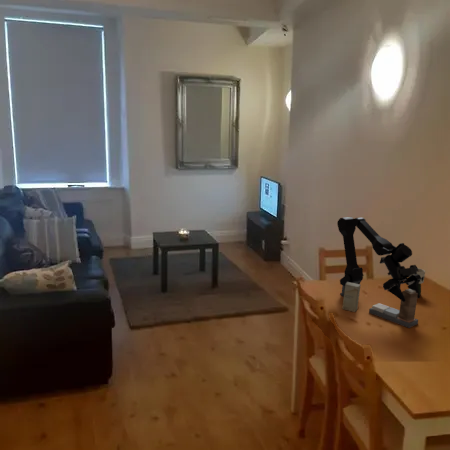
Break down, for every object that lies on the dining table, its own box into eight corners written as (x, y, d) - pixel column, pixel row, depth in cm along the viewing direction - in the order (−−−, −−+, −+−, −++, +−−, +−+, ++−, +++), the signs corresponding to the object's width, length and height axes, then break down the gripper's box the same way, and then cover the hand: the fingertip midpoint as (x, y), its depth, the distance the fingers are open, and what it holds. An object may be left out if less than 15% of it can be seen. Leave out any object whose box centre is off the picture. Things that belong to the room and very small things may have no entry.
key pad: (368, 312, 219) (369, 305, 219) (377, 309, 224) (378, 302, 223) (409, 328, 205) (410, 320, 204) (417, 324, 210) (418, 316, 209)
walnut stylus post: (398, 317, 210) (402, 289, 207) (405, 315, 213) (409, 288, 210) (407, 321, 207) (411, 292, 204) (414, 319, 209) (418, 291, 206)
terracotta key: (396, 322, 210) (397, 317, 210) (403, 319, 214) (403, 314, 213) (408, 326, 206) (409, 322, 206) (415, 323, 210) (415, 319, 209)
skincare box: (341, 309, 222) (344, 284, 219) (344, 306, 226) (347, 281, 223) (355, 312, 219) (358, 286, 217) (357, 309, 223) (360, 284, 220)
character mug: (421, 299, 240) (425, 274, 237) (406, 296, 243) (409, 271, 240) (421, 292, 250) (425, 268, 247) (407, 289, 253) (410, 265, 250)
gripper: (391, 261, 202) (410, 294, 196) (420, 256, 212) (439, 288, 205) (375, 273, 211) (392, 306, 204) (403, 268, 220) (421, 299, 213)
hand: (411, 299), depth 206 cm, fingers open, 9 cm apart
